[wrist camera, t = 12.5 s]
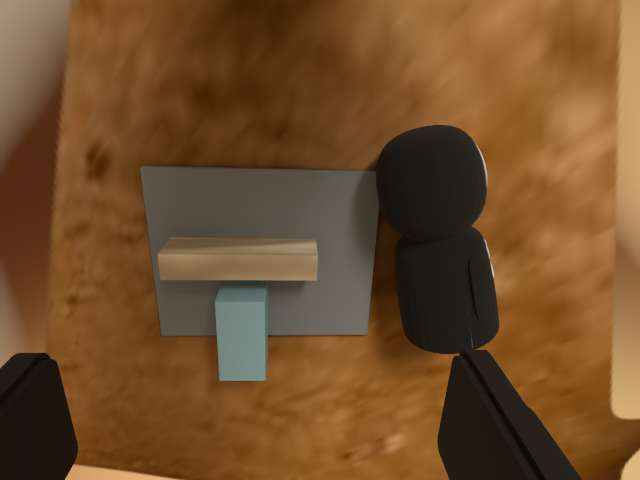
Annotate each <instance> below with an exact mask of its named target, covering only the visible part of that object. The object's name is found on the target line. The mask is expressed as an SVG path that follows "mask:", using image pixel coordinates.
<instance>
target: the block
mask: <svg viewBox="0 0 640 480" xmlns="http://www.w3.org/2000/svg"><path fill="white" fill-rule="evenodd" d="M215 312H216V329H217V345H218V362H219V379H220V381H265V380H266V369H267V358H268V280H222V283H221V286H220V288H219V291H218V294H217V297H216V300H215Z"/></svg>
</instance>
